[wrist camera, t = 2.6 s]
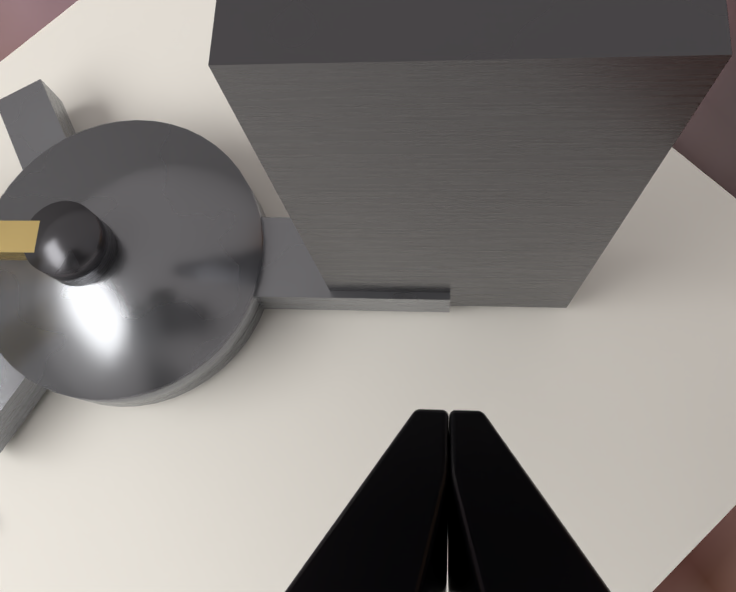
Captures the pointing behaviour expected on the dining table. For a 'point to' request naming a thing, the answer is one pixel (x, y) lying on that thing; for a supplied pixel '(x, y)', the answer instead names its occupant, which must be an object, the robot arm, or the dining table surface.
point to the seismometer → (338, 181)
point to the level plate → (371, 376)
